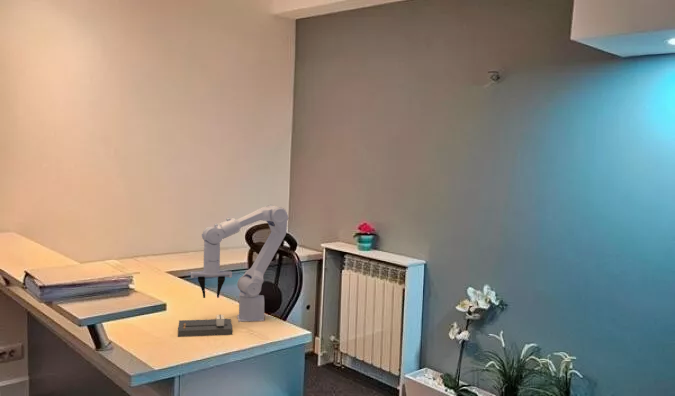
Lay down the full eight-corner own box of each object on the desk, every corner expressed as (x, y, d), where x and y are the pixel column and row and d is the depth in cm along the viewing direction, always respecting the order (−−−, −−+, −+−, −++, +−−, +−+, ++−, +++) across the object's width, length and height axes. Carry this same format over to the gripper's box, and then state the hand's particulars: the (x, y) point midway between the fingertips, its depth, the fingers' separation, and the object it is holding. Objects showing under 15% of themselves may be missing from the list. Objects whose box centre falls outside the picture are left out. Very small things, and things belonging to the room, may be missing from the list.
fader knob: (223, 321, 208) (223, 314, 208) (224, 325, 203) (224, 318, 203) (216, 321, 207) (216, 314, 207) (216, 326, 203) (216, 318, 202)
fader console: (230, 324, 213) (230, 318, 213) (232, 334, 202) (232, 328, 201) (179, 326, 209) (179, 320, 209) (177, 336, 197) (177, 330, 197)
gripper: (231, 257, 218) (230, 294, 219) (191, 258, 215) (190, 294, 216) (232, 261, 211) (231, 298, 213) (190, 261, 208) (190, 299, 209)
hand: (211, 297), depth 214 cm, fingers open, 4 cm apart
